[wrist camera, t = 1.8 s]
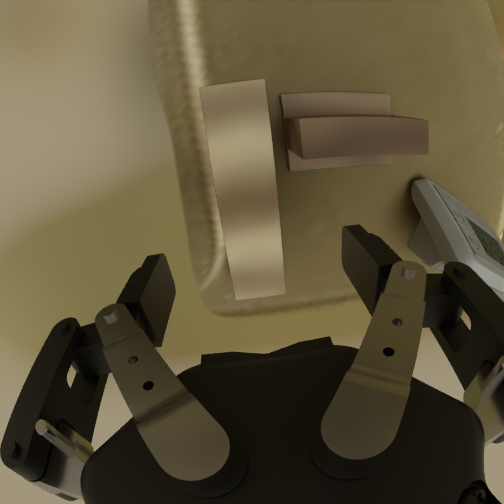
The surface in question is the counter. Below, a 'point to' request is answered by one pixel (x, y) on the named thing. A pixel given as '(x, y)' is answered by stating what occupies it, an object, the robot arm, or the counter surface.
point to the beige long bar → (245, 185)
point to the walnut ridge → (347, 130)
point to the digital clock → (455, 235)
